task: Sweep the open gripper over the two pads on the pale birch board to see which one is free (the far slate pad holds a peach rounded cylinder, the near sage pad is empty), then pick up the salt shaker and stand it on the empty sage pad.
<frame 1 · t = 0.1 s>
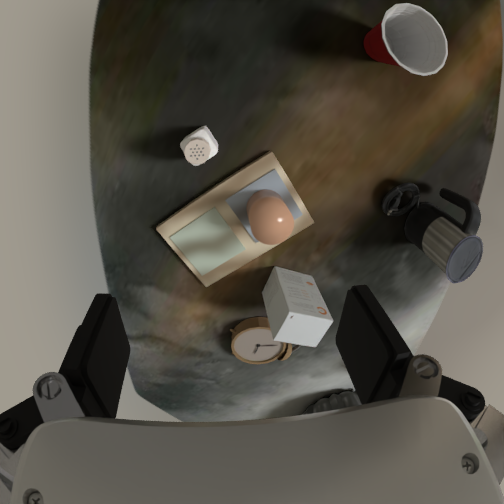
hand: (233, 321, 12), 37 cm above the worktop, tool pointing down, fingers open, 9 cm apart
small box: (286, 283, 57), on the worktop
board: (235, 222, 50), on the worktop
plastic cup: (376, 46, 37), on the worktop
peach rounded cylinder: (265, 207, 48), point 1 cm above the worktop, touching board
alarm clock: (265, 333, 63), on the worktop
salt shaker: (201, 141, 43), on the worktop
milk frother: (410, 212, 53), on the worktop
bundt pan: (333, 406, 82), on the worktop
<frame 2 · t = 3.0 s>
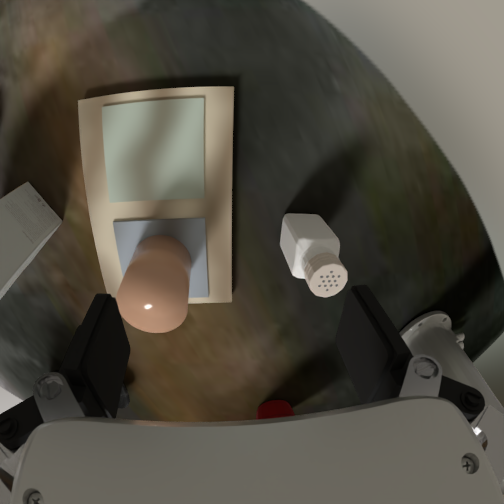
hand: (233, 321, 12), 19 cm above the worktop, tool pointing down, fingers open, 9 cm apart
small box: (29, 222, 27), on the worktop
board: (158, 204, 28), on the worktop
plastic cup: (273, 406, 47), on the worktop
peach rounded cylinder: (162, 262, 29), point 1 cm above the worktop, touching board
salt shaker: (298, 228, 31), on the worktop
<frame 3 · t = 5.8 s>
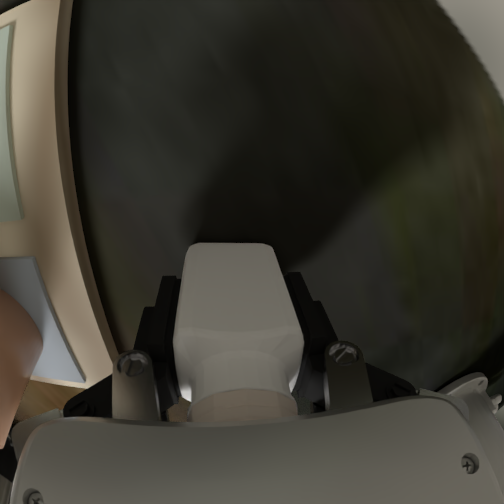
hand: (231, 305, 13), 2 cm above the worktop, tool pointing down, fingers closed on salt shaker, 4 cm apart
peach rounded cylinder: (3, 325, 13), point 1 cm above the worktop, touching board
salt shaker: (229, 273, 15), on the worktop, touching gripper
milk frother: (9, 435, 24), on the worktop
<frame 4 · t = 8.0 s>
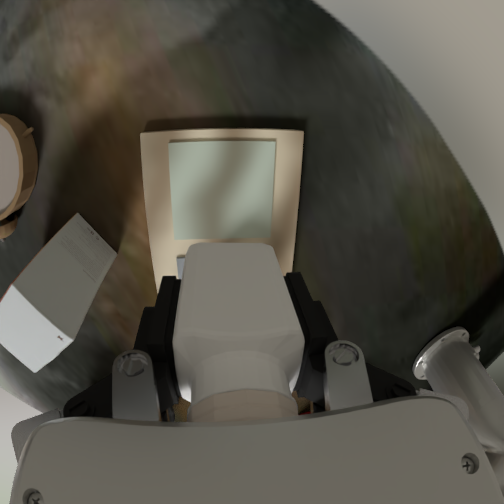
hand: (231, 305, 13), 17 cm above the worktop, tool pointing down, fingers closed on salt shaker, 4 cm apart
small box: (77, 253, 29), on the worktop
board: (222, 241, 30), on the worktop
alarm clock: (0, 176, 24), on the worktop
salt shaker: (229, 273, 15), point 15 cm above the worktop, touching gripper
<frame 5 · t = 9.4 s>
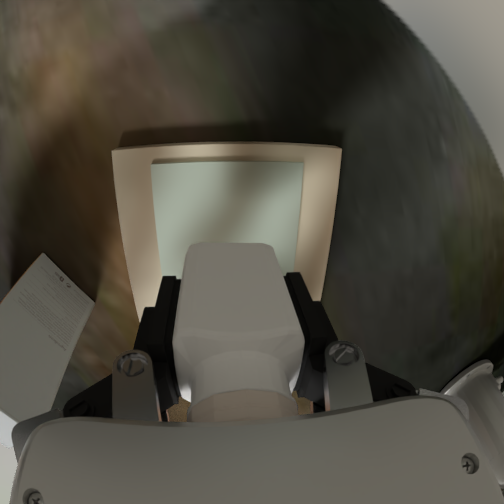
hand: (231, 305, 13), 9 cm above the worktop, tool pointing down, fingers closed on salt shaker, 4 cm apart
small box: (49, 298, 22), on the worktop
board: (227, 291, 23), on the worktop
salt shaker: (229, 273, 15), point 6 cm above the worktop, touching gripper
when the fingers open (5 cm above the worktop, at t = 10.5 s): salt shaker stays where it is, resting on board.
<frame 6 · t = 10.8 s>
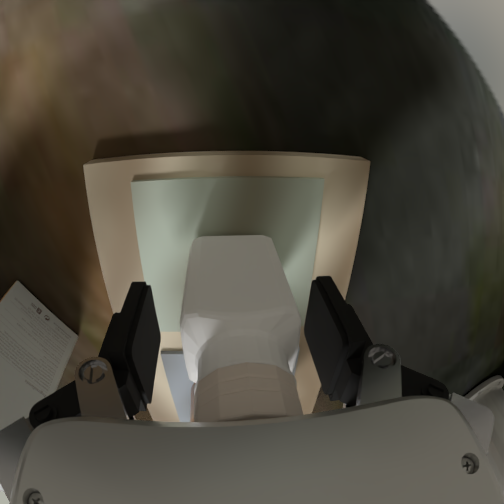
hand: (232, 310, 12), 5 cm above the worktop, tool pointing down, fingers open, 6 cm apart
small box: (29, 328, 18), on the worktop
board: (228, 326, 19), on the worktop
salt shaker: (231, 264, 16), point 1 cm above the worktop, touching board
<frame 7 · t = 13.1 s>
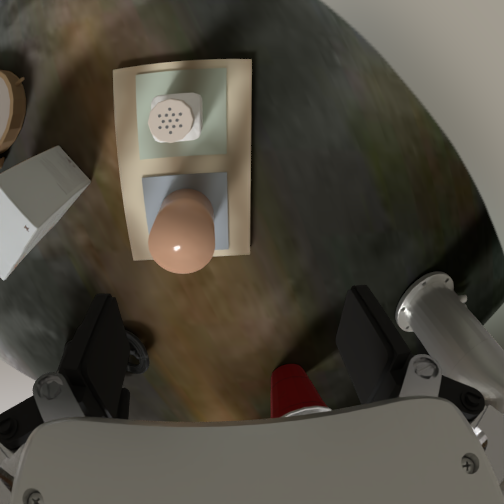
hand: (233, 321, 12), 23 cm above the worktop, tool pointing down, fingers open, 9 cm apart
small box: (56, 185, 30), on the worktop
board: (184, 162, 31), on the worktop
plastic cup: (287, 371, 50), on the worktop
peach rounded cylinder: (186, 214, 32), point 1 cm above the worktop, touching board
salt shaker: (182, 113, 27), point 1 cm above the worktop, touching board
milk frother: (104, 350, 43), on the worktop
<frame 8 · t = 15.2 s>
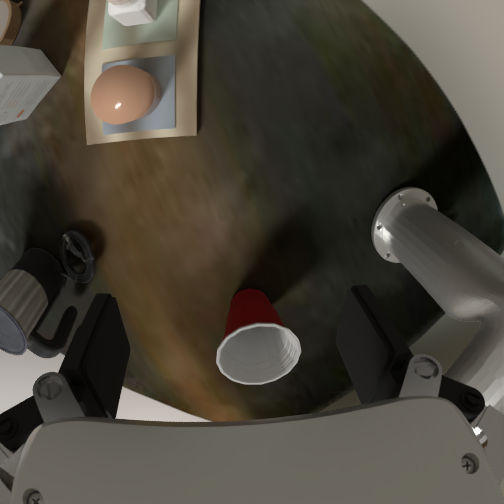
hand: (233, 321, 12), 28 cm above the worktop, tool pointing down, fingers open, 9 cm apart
small box: (33, 84, 27), on the worktop
board: (140, 52, 28), on the worktop
plastic cup: (249, 301, 47), on the worktop
peach rounded cylinder: (136, 94, 30), point 2 cm above the worktop, touching board
salt shaker: (141, 11, 25), point 1 cm above the worktop, touching board
milk frother: (57, 261, 40), on the worktop
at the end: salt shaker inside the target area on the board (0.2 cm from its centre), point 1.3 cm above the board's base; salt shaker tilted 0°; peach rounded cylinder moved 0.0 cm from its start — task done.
